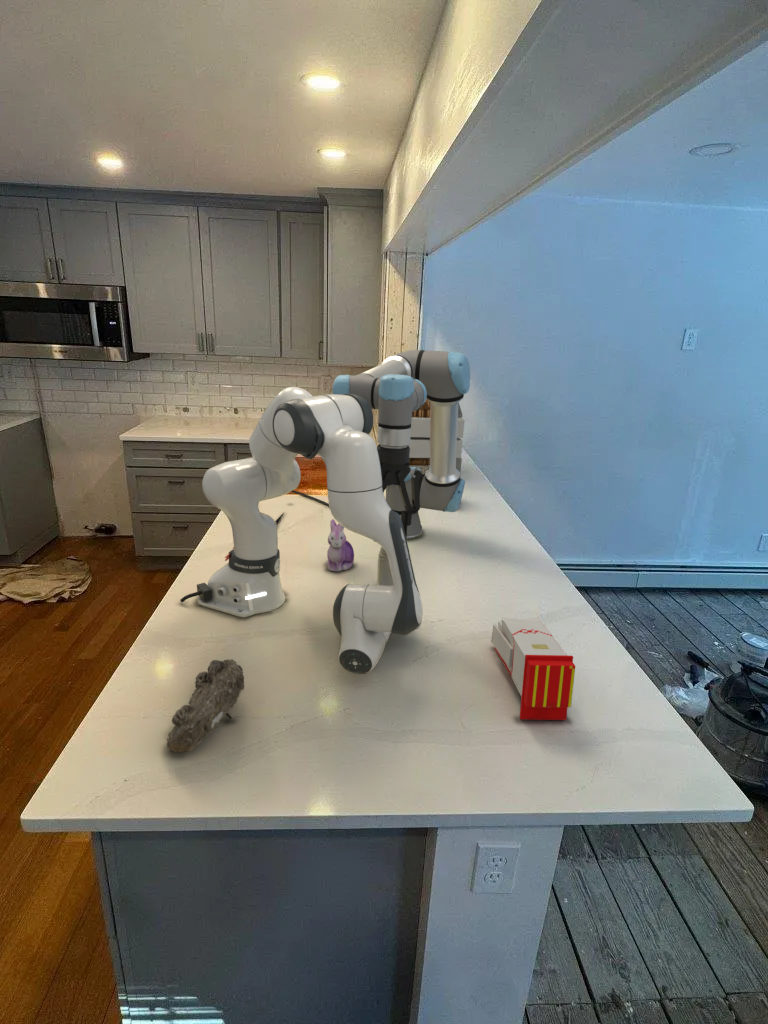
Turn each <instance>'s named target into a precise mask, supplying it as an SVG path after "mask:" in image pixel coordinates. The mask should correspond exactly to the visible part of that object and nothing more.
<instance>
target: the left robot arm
mask: <svg viewBox="0 0 768 1024" xmlns="http://www.w3.org/2000/svg"><path fill="white" fill-rule="evenodd" d="M373 426H374V413H373V409H371V407H370V405H369V403H368V402H367V401H366V400H365V399H364V398H362V397H360V396H357V395H353V394H341V395H338V394H333V393H332V394H331V393H327V394H319V395H312V393H311V392H309V391H308V390H306V389H304V388H302V387H299V386H289V387H285V388H283V389H282V390H281V391H280V392H278V393H277V394H276V395H275V397H274V398H273V399H272V400H271V401H270V403H269V404H268V406H267V407H266V408H265V410H264V412H262V415H261V417H259V420H258V422H257V423H256V426H255V428H254V429H253V432H252V433H251V435H250V437H249V442H248V446H249V451H250V454H251V457H246V458H242V459H235V460H229V461H225V462H221V463H220V464H217V465H215V466H212V467H210V468H208V469H207V470H206V471H205V473H204V475H203V477H202V483H201V484H202V485H201V488H202V492H203V495H204V497H205V499H206V500H207V501H208V503H210V504H211V505H212V506H213V507H215V508H217V509H218V510H220V511H222V512H223V513H224V515H225V516H226V517H227V519H228V521H229V523H230V526H231V532H232V541H233V547H232V549H231V550H230V551H228V554H227V555H225V556H224V559H225V560H224V561H225V562H227V561H228V562H227V563H225V564H224V565H223V566H221V567H220V568H218V569H217V570H216V571H215V572H213V574H211V576H210V577H209V578H208V581H207V583H206V582H201V583H198V584H196V591H195V592H192V593H189V594H186V595H184V596H183V597H182V598H180V599H179V601H180V602H181V603H184V602H185V601H186V600H188V599H190V598H194V597H198V598H197V599H198V600H197V602H198V603H197V604H198V605H200V606H202V607H205V608H209V609H211V610H212V609H213V610H215V611H219V612H222V613H226V614H230V615H233V616H236V617H240V618H248V617H250V616H253V615H257V614H262V613H268V612H271V611H274V610H276V609H279V608H280V607H281V606H282V605H284V603H285V601H286V596H285V593H284V590H283V586H282V581H281V576H280V575H281V574H280V571H281V554H280V549H279V541H278V540H279V537H278V524H276V522H275V521H276V520H275V519H274V518H273V517H272V516H270V515H269V514H266V513H264V512H261V511H260V507H259V506H260V505H259V503H260V502H262V501H267V500H271V499H275V498H279V497H283V496H285V495H287V494H288V493H292V492H291V491H293V490H294V491H295V490H296V489H297V488H298V487H299V485H300V483H301V478H302V477H301V476H302V473H301V467H300V466H299V463H298V462H297V460H296V458H297V456H298V455H301V456H302V457H304V458H305V459H308V460H312V459H314V458H315V457H316V456H317V455H318V456H319V457H320V458H321V459H322V460H323V462H324V464H325V469H326V487H327V488H326V489H327V500H328V504H329V506H328V507H329V511H330V514H331V516H332V517H333V519H334V520H335V522H337V523H338V524H339V523H340V524H341V525H342V526H343V527H344V529H347V530H348V531H350V532H352V533H355V534H357V535H361V536H363V537H365V538H367V539H370V540H372V541H373V542H374V541H375V542H374V543H377V544H378V545H379V546H380V547H381V546H382V547H383V548H384V550H385V551H386V553H387V556H388V560H389V565H390V569H391V574H392V578H393V583H394V586H386V585H377V584H369V583H347V584H346V585H345V586H343V587H342V588H341V590H340V591H339V592H338V593H337V595H336V597H335V599H334V603H333V606H332V619H333V625H334V627H335V629H336V631H337V633H338V635H339V636H340V637H341V640H340V646H339V649H338V657H337V658H338V662H339V664H340V666H341V667H342V668H343V669H344V670H345V671H347V672H348V673H351V674H356V675H365V674H368V673H370V672H371V671H372V670H374V668H375V667H376V666H377V664H378V663H379V661H380V660H381V658H382V655H383V653H384V651H385V647H386V644H387V642H388V641H389V638H390V636H391V634H395V635H401V636H408V635H410V634H411V633H413V632H414V631H416V630H417V631H418V630H419V629H420V628H421V627H420V626H421V624H422V620H423V615H424V606H423V605H424V604H423V601H422V598H421V594H420V591H419V588H418V584H417V581H416V577H415V571H414V567H413V563H412V558H411V553H410V548H409V544H408V540H407V539H406V535H405V531H404V527H403V524H402V521H401V519H400V516H399V514H398V513H396V512H395V511H393V510H391V508H390V507H389V505H388V504H387V502H386V496H385V495H384V494H385V493H383V489H382V474H381V466H380V460H379V455H378V451H377V443H376V441H375V439H374V438H373V437H372V436H371V435H370V434H371V432H372V429H373Z"/></svg>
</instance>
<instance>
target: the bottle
mask: <svg viewBox="0 0 768 1024" xmlns="http://www.w3.org/2000/svg"><path fill="white" fill-rule="evenodd" d="M376 572H377V573H376V576H377V577H376V585H386V586H394V583H393V578H392V574H391V569H390V565H389V560H388V556H387V553H386V551H385V550H384V548H383V547H382V546H381V545H380V549H379V552H378V557H377V571H376Z"/></svg>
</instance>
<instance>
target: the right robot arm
mask: <svg viewBox="0 0 768 1024" xmlns="http://www.w3.org/2000/svg"><path fill="white" fill-rule="evenodd" d="M470 366H471V365H470V361H469V358H468V357H467V355H466V354H465V353H463V352H455V351H451V350H450V351H445V350H444V351H443V350H428V349H427V350H425V349H424V350H423V349H412V350H411V349H410V350H406V351H402V352H401V351H400V352H398V353H395V354H392V355H390V356H388V357H387V358H385V359H384V360H383V361H382V362H381V364H379V365H377V366H374V367H372V368H370V369H368V370H365V371H364V372H363V371H362V372H361V373H359V374H356V375H351V374H340V375H337V376H336V377H335V379H334V381H333V385H332V394H338V395H341V394H353V395H357V396H360V397H362V398H364V399H365V400H366V401H367V402H368V403H369V405H370V407H371V410H378V414H377V415H378V416H377V418H378V419H377V437H376V439H377V440H376V442H377V444H378V445H376V447H377V451H378V455H379V460H380V466H381V474H382V489H383V494H385V500H386V502H387V504H388V505H389V507H390V508H391V510H393V511H395V512H396V513H398V514H399V516H400V519H401V521H402V524H403V527H404V531H405V535H406V539H407V541H410V540H415V539H418V538H420V537H421V536H422V535H423V525H422V524H421V518H420V515H419V511H420V509H425V510H433V511H439V512H440V511H441V512H443V513H446V512H447V513H456V512H457V511H458V510H459V508H460V505H461V504H460V502H461V503H462V498H463V494H464V490H465V484H466V480H465V479H464V478H462V477H461V474H460V472H459V471H458V470H457V469H456V450H457V426H458V403H459V404H460V402H461V401H463V399H464V398H465V397H464V396H465V395H466V394H468V393H469V391H470V388H471V367H470ZM426 399H427V400H429V401H430V466H429V468H428V469H427V470H426V471H425V473H422V469H421V468H419V467H417V466H409V455H410V448H409V446H408V445H409V444H410V439H411V420H412V412H413V411H416V410H418V409H420V407H421V406H422V405H423V404H424V402H425V401H426ZM384 492H385V493H384ZM290 493H294V494H297V495H300V496H303V497H305V498H308V499H310V500H313V501H316V502H318V503H320V504H323V505H325V506H327V507H329V502H326V501H323V500H321V499H318V498H316V497H313V496H311V495H309V494H306V493H304V492H300V491H297V490H295V489H294V490H293V491H291V492H290ZM373 542H374V543H376V542H375V541H373Z"/></svg>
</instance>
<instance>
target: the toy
mask: <svg viewBox="0 0 768 1024" xmlns="http://www.w3.org/2000/svg"><path fill="white" fill-rule="evenodd" d="M490 638H491V639H490V642H491V644H492V646H493V647H494V650H495V652H496V654H497V655H498V657H499V659H500V660H501V662H502V664H503V666H504V667H505V669H506V671H507V672H508V674H509V676H510V677H511V679H512V681H513V683H514V685H515V688H516V690H517V691H518V693H519V695H520V697H521V698H520V710H519V719H520V720H534V721H535V720H539V721H567V716H568V708H572V701H573V692H574V684H575V674H576V673H575V672H576V665H575V663H574V656H573V655H568V654H567V653H566V652H565V650H564V649H563V648H562V646H561V645H560V644H559V643H558V641H557V640H556V639H555V637H554V636H553V634H552V633H551V632H550V631H549V629H548V628H547V626H546V624H545V623H543V621H542V620H541V619H540V618H505V617H503V618H501V620H498V622H497V624H495V623H493V624H492V632H491V637H490Z"/></svg>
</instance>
